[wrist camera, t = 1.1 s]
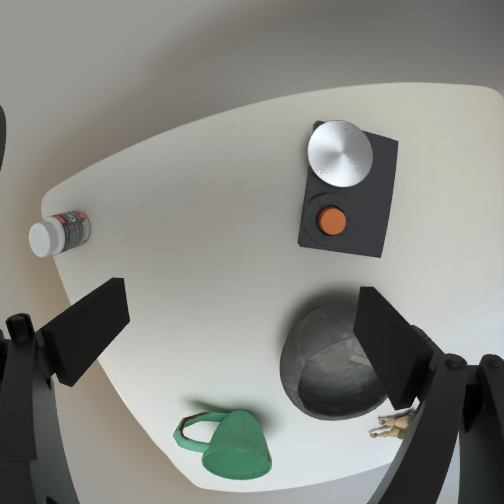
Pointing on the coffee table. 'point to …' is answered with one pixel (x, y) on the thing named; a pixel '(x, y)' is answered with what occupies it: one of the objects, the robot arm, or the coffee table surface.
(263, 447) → the mug
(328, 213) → the button
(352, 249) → the scale
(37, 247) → the pill bottle
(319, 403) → the bowl
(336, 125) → the scale pan
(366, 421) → the coffee table surface
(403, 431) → the figurine
